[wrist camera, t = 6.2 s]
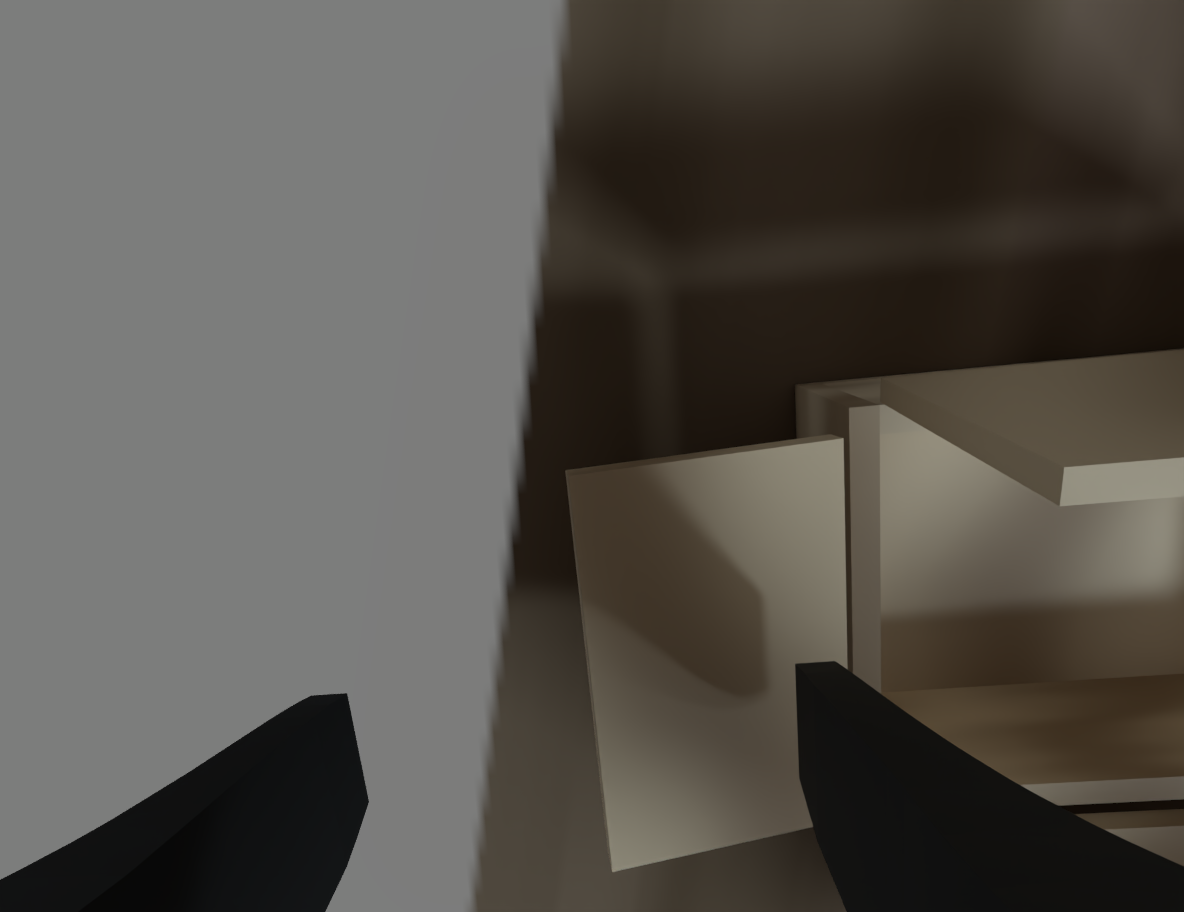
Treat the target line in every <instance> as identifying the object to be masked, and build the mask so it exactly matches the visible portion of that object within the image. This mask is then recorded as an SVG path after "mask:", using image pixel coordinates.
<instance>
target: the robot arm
mask: <svg viewBox="0 0 1184 912" xmlns="http://www.w3.org/2000/svg"><path fill="white" fill-rule="evenodd" d="M795 676H796V704H797V731H798V759H799V779H800V783H801V786H802V790H803V793H804V797H805V800H806V804H807V807H808V811H809V814H810V817H811V821H812V824H813V827H814V830H815V834H816V837H817V840H818V844H819V846H820V848H821V851H822V853H823V856H824V858H825V861H826V863H827V865H828V868H829V870H830V873H831V875H832V877H833V880H834V882H835V885H836V887H837V889H838V892H839V894H840V896H841V899H842V901H843V904H844V906H845V908H846V911H847V912H1184V866H1182V865H1180V864H1178V863H1175V862H1173V861H1171V860H1169V859H1166V858H1164V857H1162V856H1160V855H1158V854H1155V853H1153V852H1151V851H1149V850H1147V849H1144V848H1142V847H1140V846H1138V845H1135V844H1133V843H1131V842H1129V841H1127V840H1125V839H1123V838H1121V837H1118V836H1116V835H1114V834H1112V833H1110V832H1108V831H1106V830H1104V829H1102V828H1100V827H1098V826H1096V825H1094V824H1092V823H1090V822H1088V821H1086V820H1084V819H1082V818H1080V817H1078V816H1077V815H1075V814H1073V813H1071V812H1069V811H1067V810H1065V809H1063V808H1061V807H1060V806H1058V805H1056V804H1054V803H1052V802H1050V801H1048V800H1046V799H1044V798H1043V797H1041V796H1039V795H1037V794H1035V793H1033V792H1031V791H1030V790H1028V789H1026V788H1024V787H1023V786H1021V785H1019V784H1017V783H1016V782H1014V781H1012V780H1010V779H1009V778H1007V777H1005V776H1004V775H1002V774H1000V773H999V772H997V771H995V770H994V769H992V768H991V767H989V766H987V765H986V764H984V763H983V762H981V761H979V760H978V759H976V758H974V757H973V756H971V755H970V754H968V753H966V752H965V751H963V750H962V749H960V748H958V747H957V746H955V745H954V744H952V743H951V742H949V741H948V740H946V739H945V738H943V737H942V736H940V735H939V734H937V733H936V732H934V731H933V730H931V729H930V728H928V727H927V726H925V725H924V724H923V723H921V722H920V721H918V720H917V719H915V718H914V717H912V716H911V715H910V714H908V713H907V712H905V711H904V710H903V709H901V708H900V707H898V706H897V705H896V704H894V703H893V702H891V701H890V700H889V699H887V698H886V697H885V696H883V695H882V694H880V693H879V692H878V691H876V690H875V689H874V688H872V687H871V686H869V685H868V684H867V683H865V682H864V681H863V680H861V679H860V678H859V677H857V676H856V675H854V674H853V673H852V672H850V671H849V670H848V669H846V668H845V667H843V666H842V665H840V664H839V663H837V662H836V661H828V662H813V663H798V664H795ZM368 803H369V801H368V795H367V790H366V786H365V781H364V776H363V770H362V765H361V761H360V756H359V751H358V746H357V741H356V736H355V731H354V726H353V721H352V716H351V711H350V706H349V701H348V696H347V694H346V693H345V694H330V695H316V696H315V695H314V696H310V697H308V698H306V699H304V700H302V701H300V702H298V703H296V704H295V705H293V706H291V707H290V708H288V709H286V710H284V711H283V712H281V713H280V714H278V715H276V716H275V717H273V718H272V719H270V720H268V721H267V722H266V723H264V724H262V725H261V726H259V727H258V728H256V729H255V730H253V731H251V732H250V733H249V734H247V735H245V736H244V737H242V738H241V739H239V740H238V741H236V742H235V743H233V744H232V745H230V746H229V747H227V748H225V749H224V750H222V751H221V752H219V753H218V754H216V755H215V756H213V757H212V758H210V759H209V760H207V761H206V762H204V763H202V764H201V765H199V766H198V767H196V768H195V769H193V770H192V771H190V772H188V773H187V774H186V775H184V776H182V777H180V778H179V779H177V780H176V781H174V782H172V783H171V784H169V785H167V786H166V787H164V788H163V789H161V790H159V791H158V792H156V793H154V794H153V795H151V796H150V797H148V798H146V799H145V800H143V801H142V802H140V803H138V804H136V805H135V806H133V807H132V808H130V809H128V810H127V811H125V812H123V813H122V814H120V815H119V816H117V817H115V818H114V819H112V820H110V821H108V822H107V823H105V824H103V825H102V826H100V827H98V828H96V829H95V830H93V831H91V832H89V833H88V834H86V835H84V836H82V837H80V838H79V839H77V840H75V841H73V842H71V843H70V844H68V845H66V846H64V847H62V848H60V849H58V850H57V851H55V852H53V853H51V854H49V855H47V856H45V857H43V858H41V859H39V860H38V861H36V862H34V863H32V864H30V865H28V866H26V867H24V868H23V869H21V870H19V871H17V872H15V873H13V874H11V875H9V876H7V877H5V878H3V879H1V880H0V912H325V911H326V909H327V907H328V905H329V903H330V901H331V898H332V896H333V894H334V892H335V890H336V888H337V886H338V884H339V882H340V880H341V878H342V875H343V873H344V871H345V869H346V867H347V864H348V861H349V859H350V855H351V853H352V850H353V848H354V845H355V842H356V839H357V836H358V833H359V830H360V827H361V824H362V821H363V818H364V815H365V812H366V809H367V806H368Z"/></svg>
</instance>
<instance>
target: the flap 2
mask: <svg viewBox="0 0 1184 912" xmlns="http://www.w3.org/2000/svg"><path fill="white" fill-rule="evenodd" d="M880 402H881V403H883V404H884V405H886V406H888V407H889V408H891V409H893V410H895V411H896V412H898V413H900V414H902V415H903V416H905V417H907V418H908V419H910V420H912V421H914V422H915V423H917V424H919V425H920V426H922V427H924V428H926V429H927V430H929V431H931V432H933V433H934V434H936V435H938V436H939V437H941V438H943V439H945V440H946V441H948V442H950V443H951V444H953V445H955V446H957V447H958V448H960V449H962V450H963V451H965V452H967V453H969V454H970V455H972V456H974V457H976V458H977V459H979V460H981V461H982V462H984V463H986V464H988V465H989V466H991V467H993V468H994V469H996V470H998V471H1000V472H1001V473H1003V474H1005V475H1007V476H1008V477H1010V478H1012V479H1013V480H1015V481H1017V482H1019V483H1020V484H1022V485H1024V486H1025V487H1027V488H1029V489H1031V490H1032V491H1034V492H1036V493H1037V494H1039V495H1041V496H1043V497H1044V498H1046V499H1048V500H1050V501H1051V502H1053V503H1055V504H1056V505H1058V506H1071V505H1083V504H1096V503H1108V502H1121V501H1134V500H1146V499H1159V498H1171V497H1184V350H1173V351H1162V352H1152V353H1141V354H1130V355H1119V356H1109V357H1098V358H1087V359H1076V360H1066V361H1055V362H1044V363H1034V364H1023V365H1012V366H1001V367H991V368H980V369H969V370H958V371H948V372H937V373H926V374H915V375H905V376H894V377H883V378H881V385H880Z"/></svg>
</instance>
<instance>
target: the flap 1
mask: <svg viewBox="0 0 1184 912" xmlns="http://www.w3.org/2000/svg"><path fill="white" fill-rule="evenodd" d="M565 472H566V481H567V490H568V499H569V508H570V517H571V526H572V535H573V544H574V553H575V561H576V570H577V579H578V588H579V597H580V606H581V615H582V624H583V633H584V642H585V651H586V660H587V669H588V678H589V687H590V696H591V705H592V713H593V722H594V731H595V740H596V749H597V758H598V767H599V776H600V785H601V794H602V803H603V812H604V821H605V830H606V839H607V848H608V855H609V859H610V864H611V868H612V872H615V871H619V870H624V869H628V868H633V867H637V866H641V865H646V864H650V863H655V862H659V861H664V860H668V859H673V858H677V857H682V856H686V855H690V854H695V853H699V852H704V851H708V850H713V849H717V848H722V847H726V846H730V845H735V844H739V843H744V842H748V841H753V840H757V839H762V838H766V837H771V836H775V835H779V834H784V833H788V832H793V831H797V830H802V829H806V828H811V827H813V824H812V821H811V817H810V814H809V811H808V807H807V804H806V800H805V797H804V793H803V790H802V786H801V783H800V779H799V759H798V731H797V704H796V676H795V664H798V663H813V662H828V661H836V662H837V663H839V664H840V665H842V666H843V667H845V668H846V669H848V667H847V609H846V551H845V493H844V438H841V437H838V436H835V435H832V434H829V435H821V436H814V437H807V438H799V439H792V440H785V441H777V442H770V443H763V444H755V445H748V446H740V447H733V448H726V449H718V450H711V451H704V452H696V453H689V454H682V455H674V456H667V457H659V458H652V459H645V460H637V461H630V462H623V463H615V464H608V465H600V466H593V467H586V468H578V469H571V470H565Z"/></svg>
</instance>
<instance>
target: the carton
mask: <svg viewBox="0 0 1184 912" xmlns="http://www.w3.org/2000/svg"><path fill="white" fill-rule="evenodd" d="M1173 350H1184V348H1179V349H1169V350H1158V351H1147V352H1137V353H1126V354H1115V355H1104V356H1094V357H1083V358H1072V359H1061V360H1051V361H1040V362H1029V363H1019V364H1008V365H997V366H986V367H976V368H965V369H954V370H944V371H933V372H922V373H911V374H901V375H890V376H879V377H869V378H858V379H847V380H836V381H826V382H815V383H804V384H795V406H796V437H797V439H799V438H807V437H814V436H821V435H829V434H832V435H835V436H838V437H841V438H844V493H845V551H846V609H847V667H848V670H849V671H850V672H852V673H853V674H854V675H856V676H857V677H859V678H860V679H861V680H863V681H864V682H865V683H867V684H868V685H869V686H871V687H872V688H874V689H875V690H876V691H878V692H879V693H880V694H882V695H883V696H885V697H886V698H887V699H889V700H890V701H891V702H893V703H894V704H896V705H897V706H898V707H900V708H901V709H903V710H904V711H905V712H907V713H908V714H910V715H911V716H912V717H914V718H915V719H917V720H918V721H920V722H921V723H923V724H924V725H925V726H927V727H928V728H930V729H931V730H933V731H934V732H936V733H937V734H939V735H940V736H942V737H943V738H945V739H946V740H948V741H949V742H951V743H952V744H954V745H955V746H957V747H958V748H960V749H962V750H963V751H965V752H966V753H968V754H970V755H971V756H973V757H974V758H976V759H978V760H979V761H981V762H983V763H984V764H986V765H987V766H989V767H991V768H992V769H994V770H995V771H997V772H999V773H1000V774H1002V775H1004V776H1005V777H1007V778H1009V779H1010V780H1012V781H1014V782H1016V783H1017V784H1019V785H1021V786H1023V787H1024V788H1026V789H1028V790H1030V791H1031V792H1033V793H1035V794H1037V795H1039V796H1041V797H1043V798H1044V799H1046V800H1048V801H1050V802H1052V803H1054V804H1056V805H1058V806H1062V805H1081V804H1101V803H1120V802H1140V801H1160V800H1179V799H1184V497H1171V498H1159V499H1146V500H1134V501H1121V502H1108V503H1096V504H1083V505H1071V506H1058V505H1056V504H1055V503H1053V502H1051V501H1050V500H1048V499H1046V498H1044V497H1043V496H1041V495H1039V494H1037V493H1036V492H1034V491H1032V490H1031V489H1029V488H1027V487H1025V486H1024V485H1022V484H1020V483H1019V482H1017V481H1015V480H1013V479H1012V478H1010V477H1008V476H1007V475H1005V474H1003V473H1001V472H1000V471H998V470H996V469H994V468H993V467H991V466H989V465H988V464H986V463H984V462H982V461H981V460H979V459H977V458H976V457H974V456H972V455H970V454H969V453H967V452H965V451H963V450H962V449H960V448H958V447H957V446H955V445H953V444H951V443H950V442H948V441H946V440H945V439H943V438H941V437H939V436H938V435H936V434H934V433H933V432H931V431H929V430H927V429H926V428H924V427H922V426H920V425H919V424H917V423H915V422H914V421H912V420H910V419H908V418H907V417H905V416H903V415H902V414H900V413H898V412H896V411H895V410H893V409H891V408H889V407H888V406H886V405H884V404H883V403H881V402H880V385H881V378H883V377H894V376H905V375H915V374H926V373H937V372H948V371H958V370H969V369H980V368H991V367H1001V366H1012V365H1023V364H1034V363H1044V362H1055V361H1066V360H1076V359H1087V358H1098V357H1109V356H1119V355H1130V354H1141V353H1152V352H1162V351H1173ZM1075 815H1077V816H1078V817H1080V818H1082V819H1084V820H1086V821H1088V822H1090V823H1092V824H1094V825H1096V826H1098V827H1100V828H1102V829H1104V830H1106V831H1108V832H1110V833H1112V834H1114V835H1116V836H1118V837H1121V838H1123V839H1125V840H1127V841H1129V842H1131V843H1133V844H1135V845H1138V846H1140V847H1142V848H1144V849H1147V850H1149V851H1151V852H1153V853H1155V854H1158V855H1160V856H1162V857H1164V858H1166V859H1169V860H1171V861H1173V862H1175V863H1178V864H1180V865H1182V866H1184V809H1167V810H1147V811H1127V812H1108V813H1088V814H1075Z"/></svg>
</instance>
